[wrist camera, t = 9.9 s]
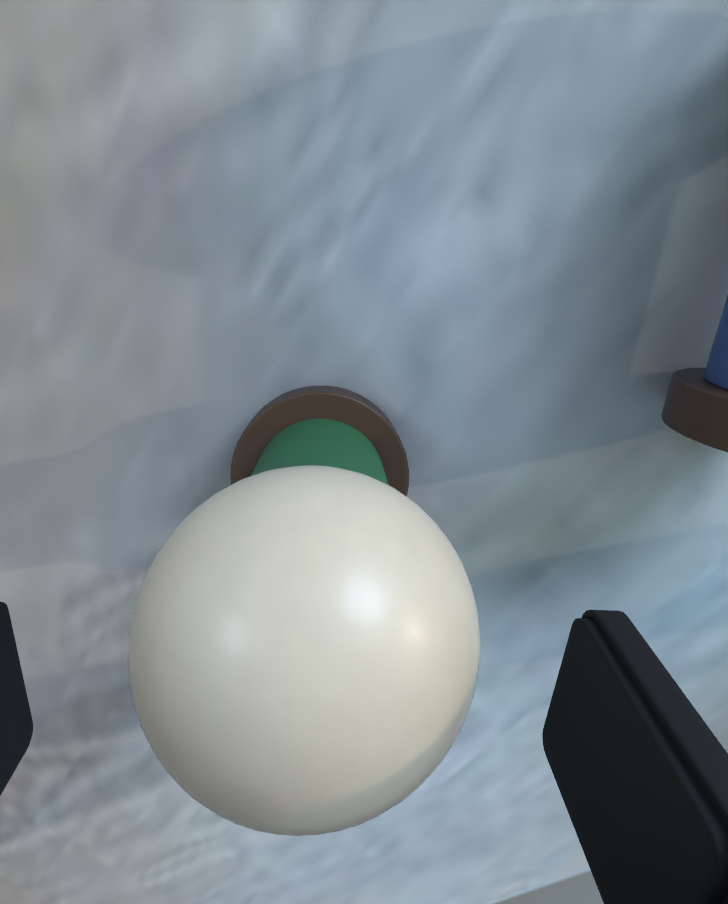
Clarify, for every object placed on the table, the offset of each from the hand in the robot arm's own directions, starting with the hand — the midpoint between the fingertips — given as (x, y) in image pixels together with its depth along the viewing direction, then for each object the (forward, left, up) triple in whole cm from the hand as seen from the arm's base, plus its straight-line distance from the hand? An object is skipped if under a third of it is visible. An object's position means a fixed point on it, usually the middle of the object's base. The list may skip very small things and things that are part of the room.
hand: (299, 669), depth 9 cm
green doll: (-3, 0, -4) cm, 5 cm away
